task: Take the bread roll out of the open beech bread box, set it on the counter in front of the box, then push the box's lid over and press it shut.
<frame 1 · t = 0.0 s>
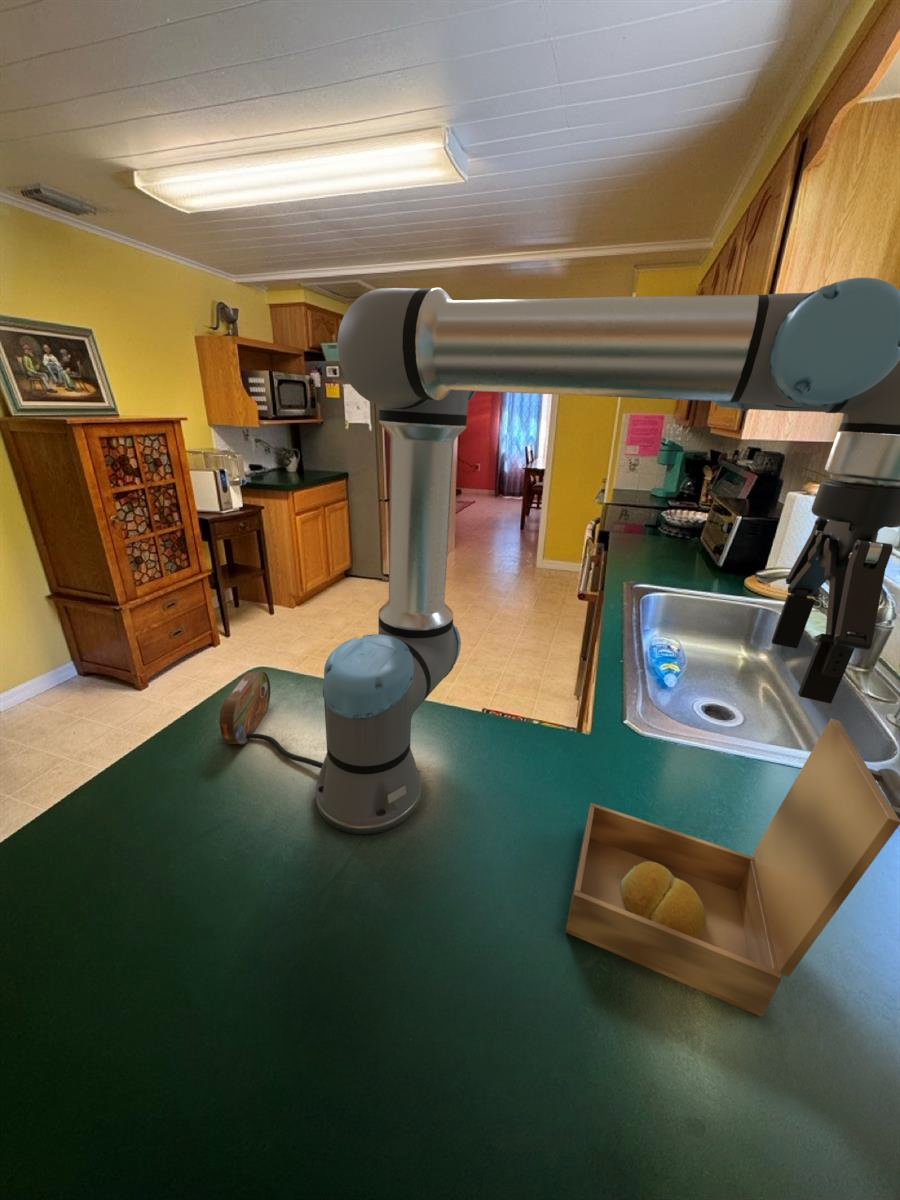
hand: (797, 669, 54), 28 cm above the kitchen counter, tool pointing down, fingers open, 13 cm apart
bread box lid: (836, 851, 45), point 16 cm above the kitchen counter, hinge at 95.0°
bread box: (657, 911, 55), on the kitchen counter
tin: (249, 726, 82), on the kitchen counter
bread roll: (658, 909, 55), resting on bread box
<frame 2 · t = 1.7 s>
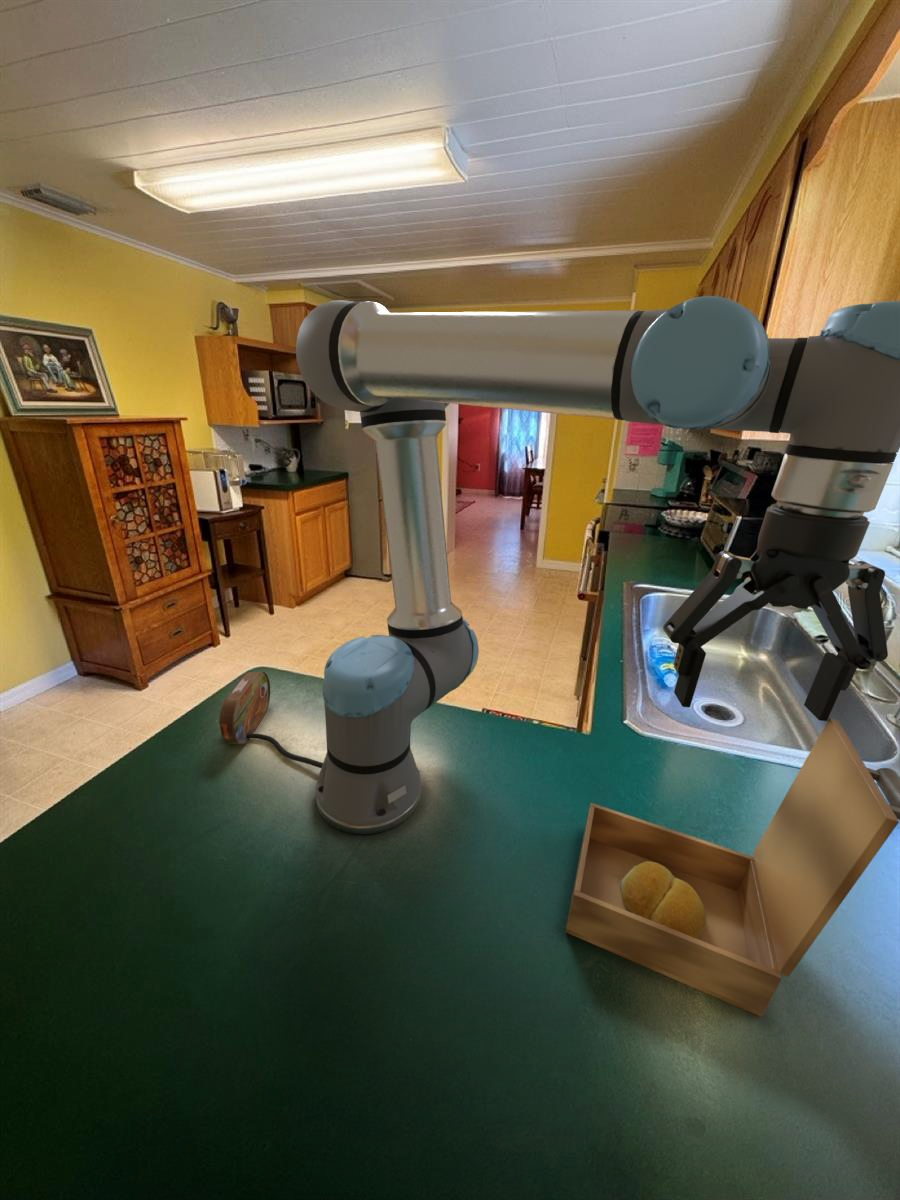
hand: (747, 706, 50), 26 cm above the kitchen counter, tool pointing down, fingers open, 13 cm apart
bread box lid: (836, 850, 45), point 16 cm above the kitchen counter, hinge at 94.6°, touching gripper
everything else where it was.
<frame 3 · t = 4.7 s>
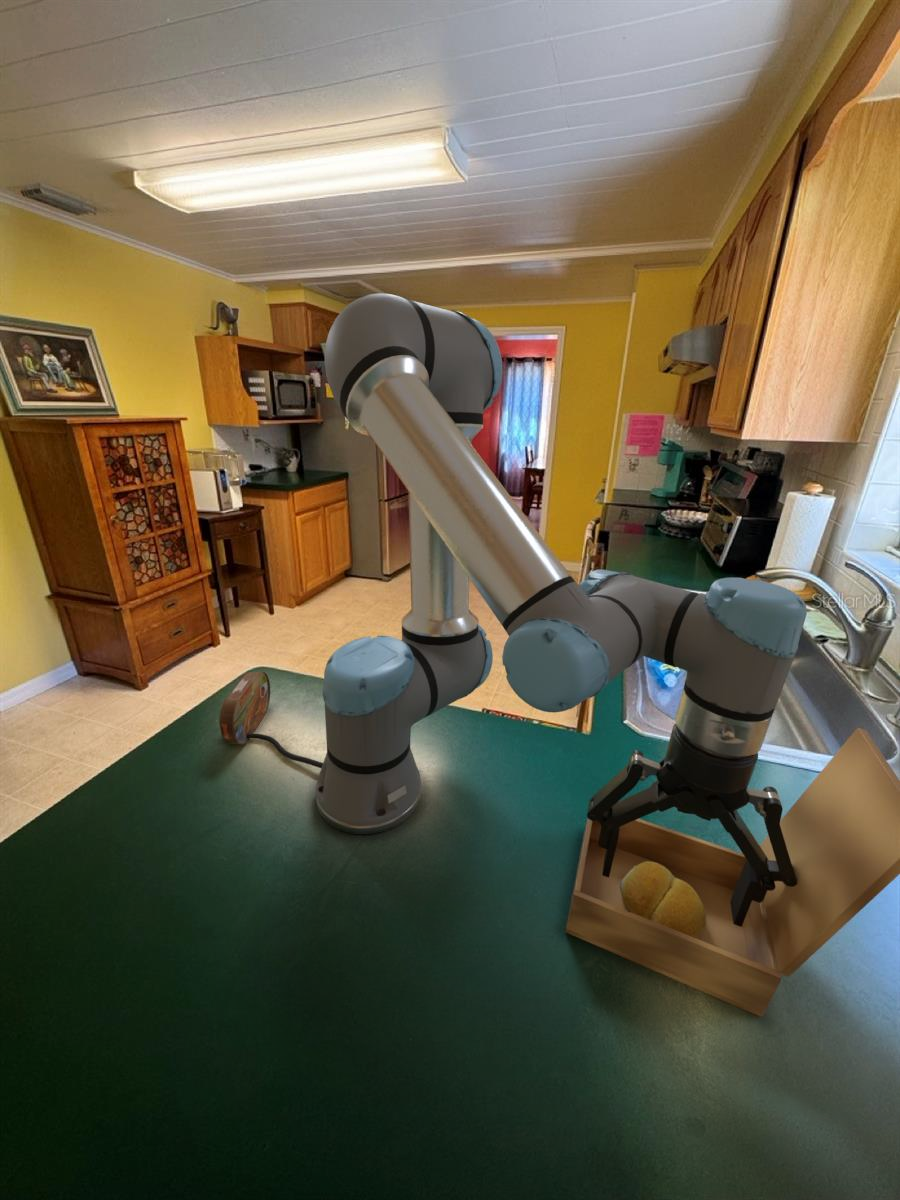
hand: (668, 889, 54), 4 cm above the kitchen counter, tool pointing down, fingers open, 13 cm apart
bread box lid: (849, 859, 45), point 16 cm above the kitchen counter, hinge at 101.9°, touching hand
everything else where it was.
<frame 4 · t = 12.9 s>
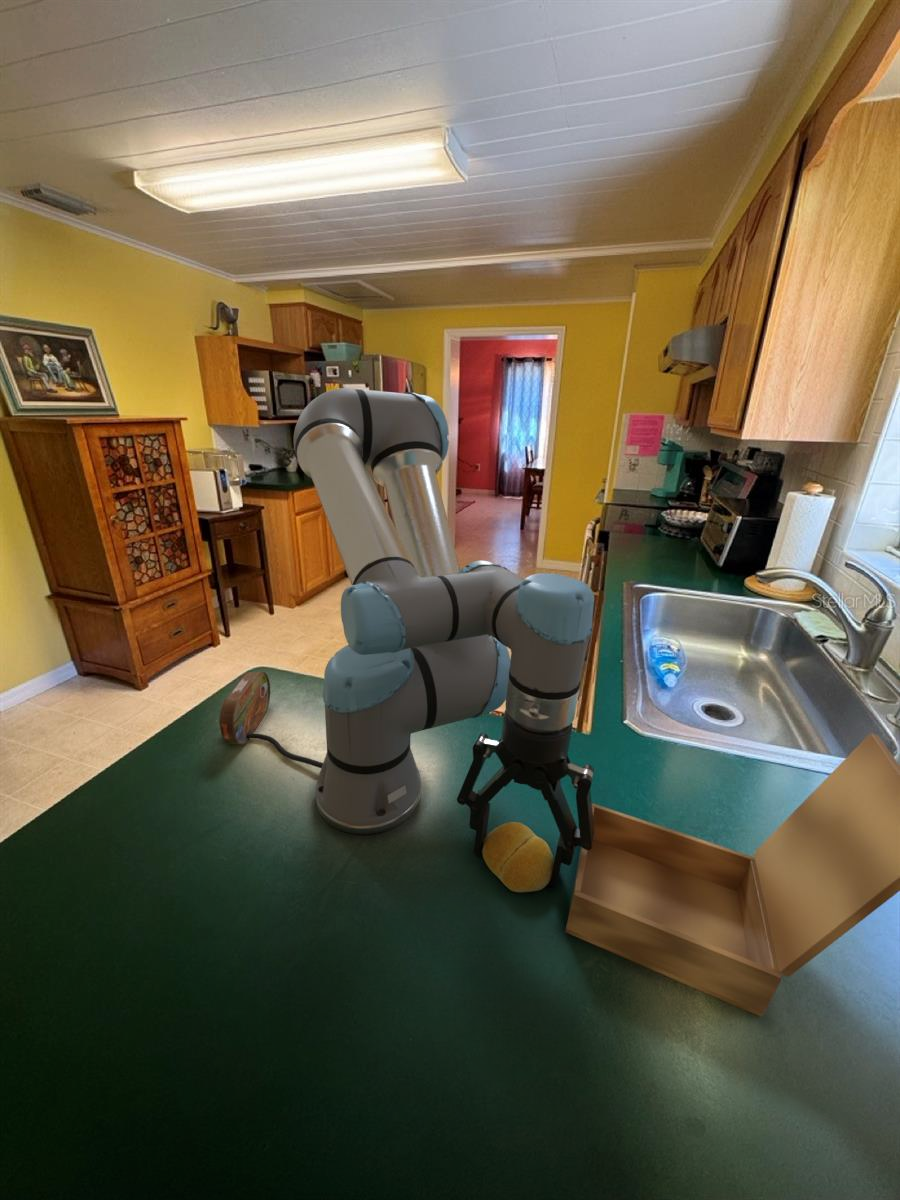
hand: (516, 861, 60), 0 cm above the kitchen counter, tool pointing down, fingers closed on bread roll, 9 cm apart
bread box lid: (855, 863, 45), point 16 cm above the kitchen counter, hinge at 105.3°
bread roll: (516, 864, 60), on the kitchen counter, touching gripper
everything else where it was.
when the fingers open (1 cm above the kitchen counter, at t = 20.5 s): bread roll stays where it is, on the kitchen counter.
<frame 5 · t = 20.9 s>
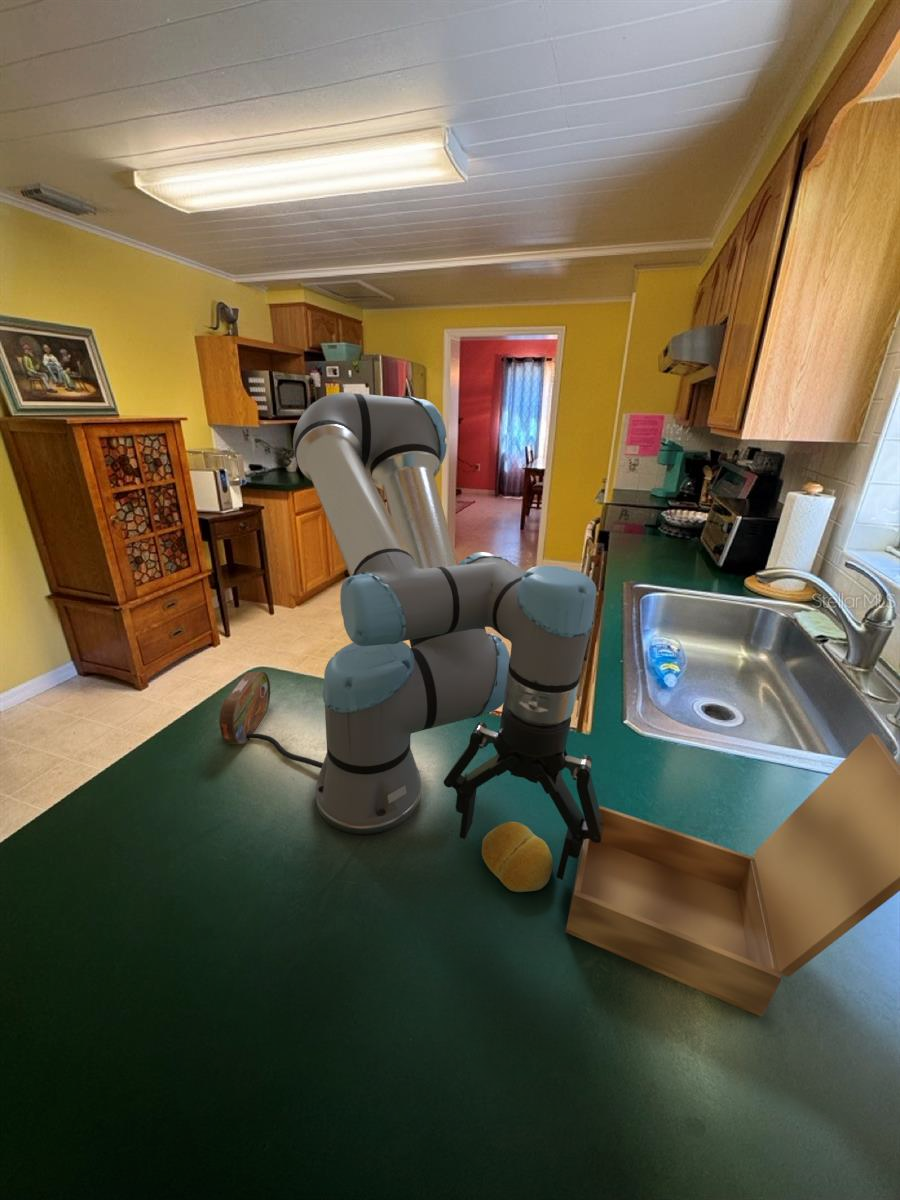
hand: (512, 849, 60), 2 cm above the kitchen counter, tool pointing down, fingers open, 12 cm apart
bread roll: (515, 863, 60), on the kitchen counter
everything else where it was.
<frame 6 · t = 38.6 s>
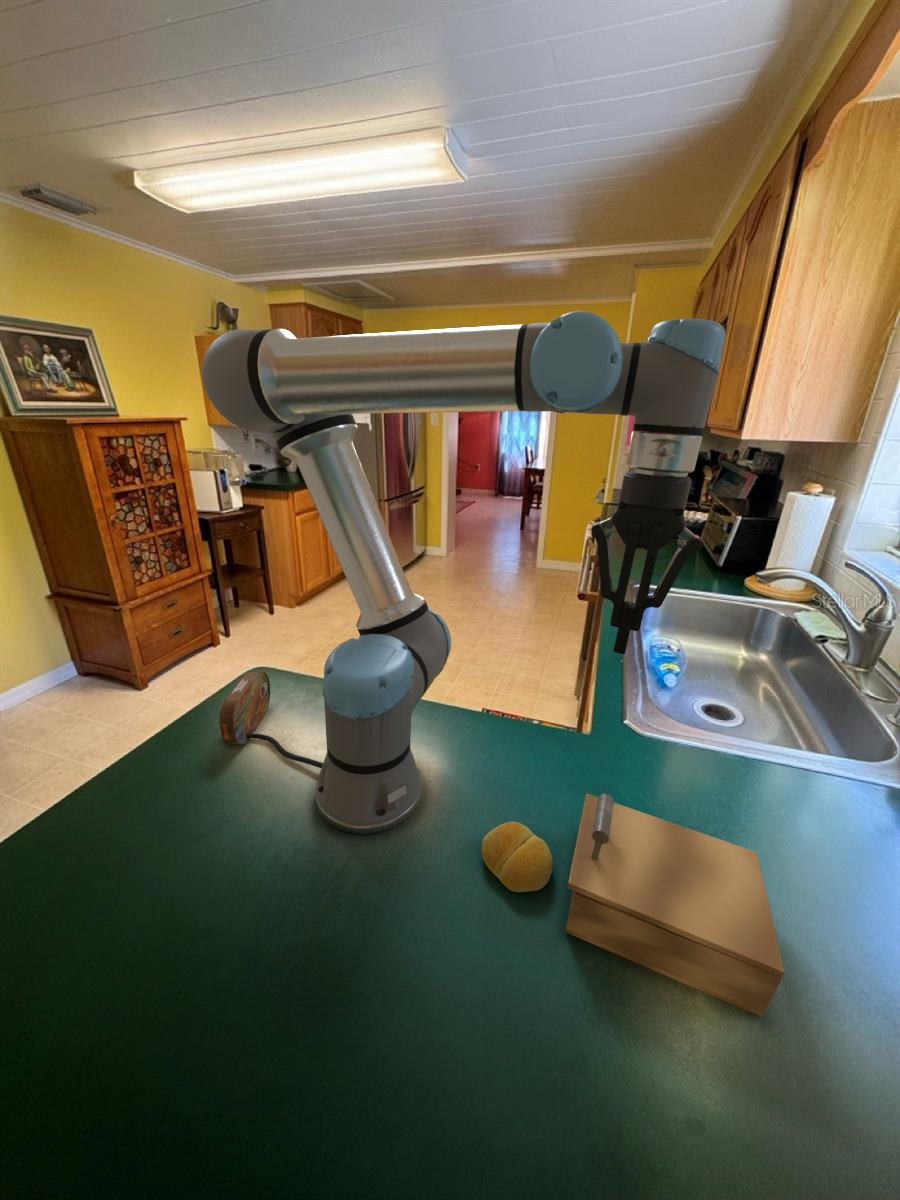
hand: (619, 648, 64), 24 cm above the kitchen counter, tool pointing down, fingers closed
bread box lid: (672, 855, 52), point 9 cm above the kitchen counter, hinge at 1.3°
everything else where it was.
at the end: bread roll inside the target area (0.5 cm from its centre), on the kitchen counter; bread box lid at +1° (first picture: +95°) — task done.
